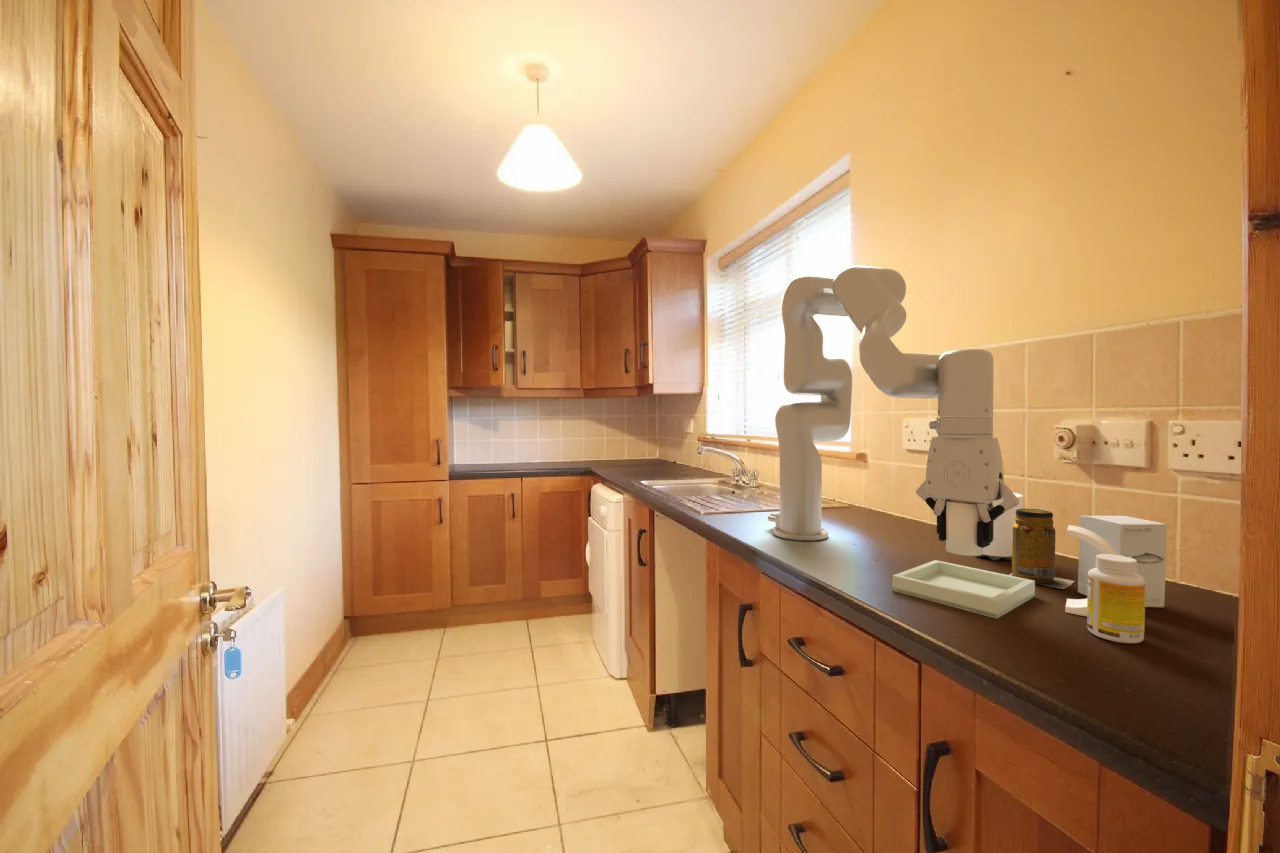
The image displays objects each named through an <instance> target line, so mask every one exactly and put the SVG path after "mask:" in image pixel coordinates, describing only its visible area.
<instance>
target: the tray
mask: <svg viewBox="0 0 1280 853" xmlns="http://www.w3.org/2000/svg"><path fill="white" fill-rule="evenodd" d="M891 586H892V589H891V590H892V592H895V593H900V594H903V595H907V596H909V597H910V596H911V597H914V598H918V599H921V600H926V601H929V602H932V603H937V604H940V605H945V606H948V607H952V608H955V609H959V610H963V611H966V612H970V613H974V614H977V615H981V616H984V617H985V616H986V617H988V618H992V619H996V620H997V619H1000V618H1001V617H1002V616H1004V615H1006V614H1008V613H1009V612H1011V611H1013V610H1014V609H1017V608H1019V607H1020V606H1021V605H1023V604H1024V603H1027V602H1028V601H1030V600H1032V599H1033V598H1035V596H1036V595H1035V594H1036V590H1035V589H1036V584H1035V581H1034V580H1029V579H1024V578H1019V577H1014V576H1010V575H1009V574H1005V573H999V572H995V571H990V570H986V569H981V568H975V567H970V566H966V565H961V564H956V563H951V562H946V561H941V560H937V559H935V560H931V561H928V562H926V563H923V564H920V565H917V566H916V567H912V568H909V569H906V570H904V571H901V572H899V573H896V574H893V575H892V584H891Z"/></svg>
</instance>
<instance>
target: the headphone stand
mask: <svg viewBox="0 0 1280 853" xmlns="http://www.w3.org/2000/svg"><path fill="white" fill-rule="evenodd" d="M1066 536H1068V537H1073V538H1075V539H1076V538H1077V539H1082V540H1084V541H1087V542H1089V543H1090V544H1092V545H1094V546H1095V547H1097V548H1098V549H1099V550H1100V551H1101V552H1102V553H1103V554H1113V555H1117V554H1116V552H1115V551H1114V549H1113V548H1112V547H1111V546H1110V545H1109V543H1108V542H1106V541H1105V540H1104V539H1103V538H1102V537H1100V536H1099V535H1097V534H1095V533H1093V532H1092V531H1089V530H1087V529H1084V528H1081V527H1080V526H1078V525H1077V526H1076V525H1071V524H1068V526H1067V528H1066ZM1064 607H1065V612H1064V613H1068V614H1071V615H1072V614H1074V615H1077V616H1083V617H1087V597H1086V598H1080V599H1079V598H1078V599H1077V598H1066V603H1065V606H1064Z"/></svg>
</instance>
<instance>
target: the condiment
mask: <svg viewBox="0 0 1280 853" xmlns="http://www.w3.org/2000/svg"><path fill="white" fill-rule="evenodd" d="M1053 517H1054V515H1053V512H1051V511H1049V510H1046V509H1045V510H1044V509H1037V508H1036V509H1035V508H1022V509H1017V510H1016V518H1015V520H1016V523H1015V524H1014V525H1013V543H1012V544H1013V545H1012V546H1013V547H1012V548H1013V549H1012V560H1011V571H1012V572H1011V573H1010V574H1008V575H1010V576H1014V577H1019V578H1024V579H1029V580H1034V581H1035V585H1040V586H1044V587H1049V588H1056V589H1062V590H1065V589H1067V588H1069V587H1070V586H1072V584H1074V583H1075V582H1076V581H1075V580H1071V579H1065V578H1061V577H1056V540H1057V539H1056V529H1055V527H1054V519H1053Z"/></svg>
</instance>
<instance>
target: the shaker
mask: <svg viewBox="0 0 1280 853" xmlns="http://www.w3.org/2000/svg"><path fill="white" fill-rule="evenodd" d="M979 521H981V516H980V513H979V509H978V506H977V503H975V502H965V501H956V500H946V540H945V552H947V553H951V554H954V555H958V556H965V557H976V556H980V555H982V554H983V548H981V547H978V546H977V523H978V522H979Z"/></svg>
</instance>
